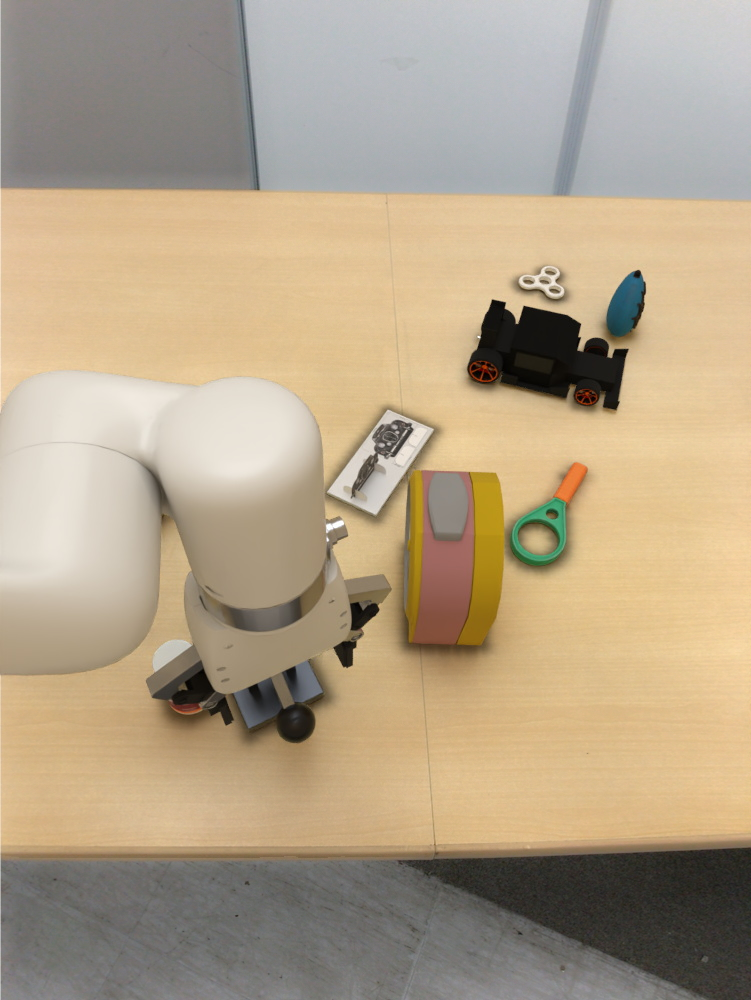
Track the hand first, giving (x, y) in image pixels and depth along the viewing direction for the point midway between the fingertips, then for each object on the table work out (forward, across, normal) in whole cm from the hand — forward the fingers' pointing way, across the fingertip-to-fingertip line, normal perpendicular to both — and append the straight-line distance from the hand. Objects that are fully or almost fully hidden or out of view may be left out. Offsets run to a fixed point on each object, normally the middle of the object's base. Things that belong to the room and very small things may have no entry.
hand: (282, 678), depth 56 cm
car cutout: (+18, -24, -27) cm, 40 cm away
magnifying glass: (+18, -38, -11) cm, 43 cm away
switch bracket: (+18, -1, -9) cm, 20 cm away
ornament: (+17, -65, -33) cm, 75 cm away
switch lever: (+11, -1, -6) cm, 12 cm away
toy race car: (+17, -51, -31) cm, 62 cm away
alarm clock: (+18, -21, -8) cm, 28 cm away
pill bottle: (+18, +7, -10) cm, 22 cm away
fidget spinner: (+17, -61, -45) cm, 77 cm away
